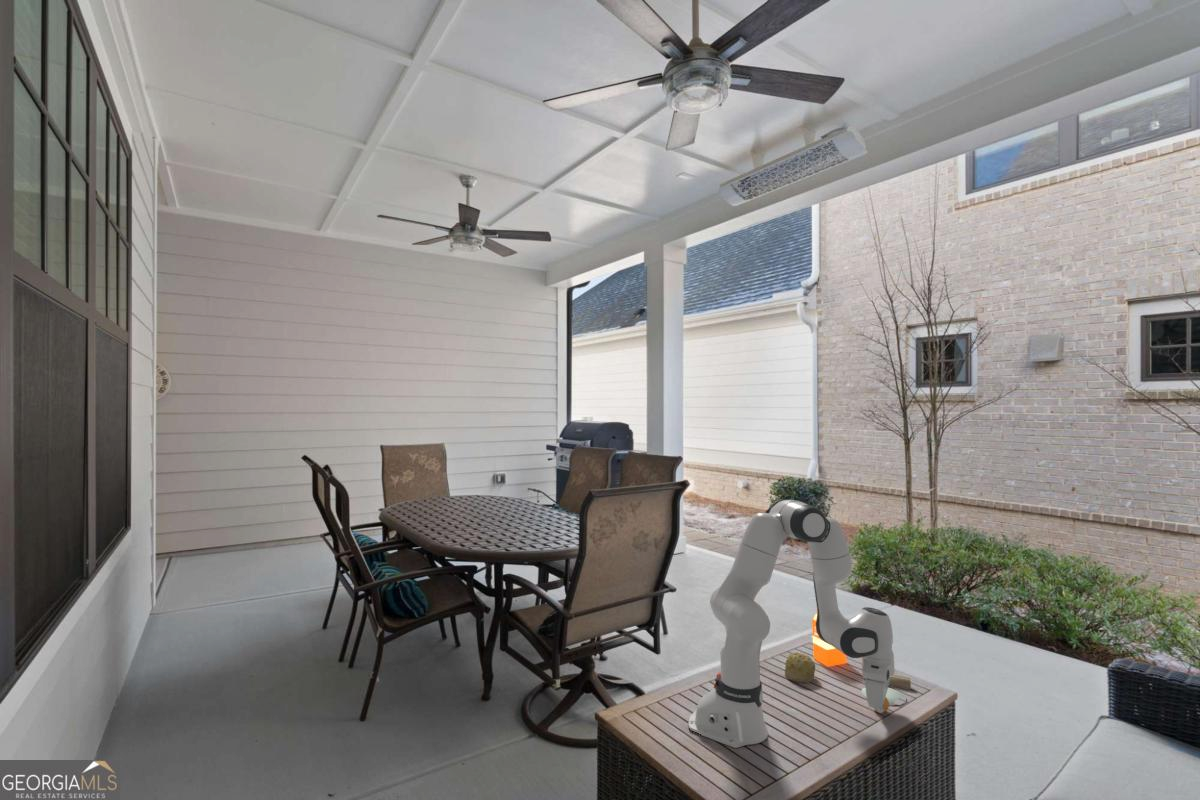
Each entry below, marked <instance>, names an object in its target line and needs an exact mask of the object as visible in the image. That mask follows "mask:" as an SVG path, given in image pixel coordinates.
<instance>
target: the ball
mask: <svg viewBox="0 0 1200 800" xmlns="http://www.w3.org/2000/svg"><path fill="white" fill-rule="evenodd" d="M889 708H890V706H889V702H888V699H887V698H886V697H885V700H884V711H883V713H884V712H887V711H888V710H889ZM873 709H874V710H875V711H876V708H873Z"/></svg>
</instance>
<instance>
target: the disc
mask: <svg viewBox="0 0 1200 800" xmlns="http://www.w3.org/2000/svg"><path fill="white" fill-rule="evenodd" d="M861 694H862V696H863V697H864V698H865V699H867V695H866V688H865V686H864V687H863V688H861ZM902 697H903V698H904V697H905V698H906V699H907V697H906V695H905V694H903V693H902V692H901V691H898V690H896V689H894V688H891V687H888V690H887V694H886V698H887V699H888V702H889V705H890V706H889V707H893V706H892V705H893V702H894V701H895V700H897V699H899V698H900V699H901V698H902ZM894 703H895V702H894Z"/></svg>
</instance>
